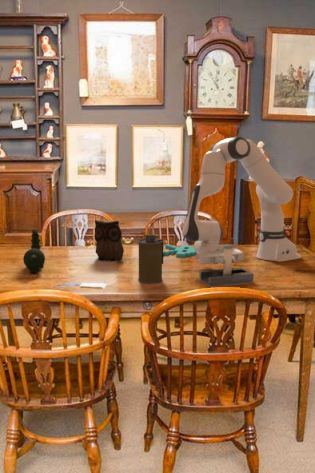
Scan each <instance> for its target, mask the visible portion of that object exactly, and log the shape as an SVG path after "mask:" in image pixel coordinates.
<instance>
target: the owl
mask: <svg viewBox="0 0 315 473" xmlns="http://www.w3.org/2000/svg"><path fill="white" fill-rule="evenodd" d="M119 223H120V221H119V220H105V219H104V220H97V219H94V224H95V227H94V240H95V243H96V245H95V254H96V255H97V260H98V261H100V262H110V263H111V262H123V258H124V252H125V249H124V245H123V242H122V238H123V236H122V235H123V234H122V229H121V228H120V227H121V226H120V224H119Z"/></svg>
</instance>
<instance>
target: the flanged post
mask: <svg viewBox="0 0 315 473" xmlns="http://www.w3.org/2000/svg"><path fill="white" fill-rule="evenodd" d="M222 245H223V247H224V259H225V264H222V265H223V268H222V269H223V275H222V276H225V274H231V273H232V266H233V263H232V248H234V245H233V244H228V243H227V244H222Z"/></svg>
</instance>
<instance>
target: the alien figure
mask: <svg viewBox="0 0 315 473" xmlns="http://www.w3.org/2000/svg"><path fill="white" fill-rule="evenodd" d="M164 247H165V249H168V250H163V257H164V256H170V255H169V254H172V255H174V254H175V257H176V258H185V257H195V255H197V253H196V252H195V250H194V245H189V244H182V245H181V246H180V247H178V246H174V245H173V244H172V245H171V244H170V243H169V244H168V243H166V244H165V246H164ZM171 249H172V250H171ZM172 255H171V256H172Z"/></svg>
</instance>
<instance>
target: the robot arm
mask: <svg viewBox="0 0 315 473" xmlns="http://www.w3.org/2000/svg"><path fill="white" fill-rule="evenodd" d="M235 161H239V162H240V163H241V165H242V167H243V169H244V170H245V171H246V173H247V174H248V176H249V177H250V179H251V180H252V182H254V183H255V184H256V187H255V193H256V196H257V197H258V202H259V207H260V229H259V242H258V249H257V253H256V258H257V259H259V260H260V259H261V260H264V261H274V262H279V263H281V262H287V261H292V260H293V261H294V260H297V259H302V256H301V254H299V253H298V252H297V251H298V250H297V246H296V244H294V243H293V241H291V240H290V239H288V237H287V236H290V235H291V232H290V231H288V230H284V223H285V221H284V220H285V215H284V212H283V210H282V206H281V205H285V204H288V203H290V202H291V200H292V199H293V196H294V190H293V187H291V186H290V185H289V184H288V183H287V182H286V181H285V180H284V179H283V178H282V177H281V175H280V174H279V173H278V172H277V171H276V170H275V168H273V166H272V165H271V163H270V162H269V160H268V159H267V158H266V156H265V155H264V153H263V152H262V149H260V148H259V147H258V145H257V144H256V143H255V142H254V141H253V140H251V139H249V138H248V139H246V138H244V137H242V136H233V137H228V138H224V139H222V140H220V141H216V142H215V143H214V144H212V146H211V147H210V149H209V151H207V152H206V153H205V154H204V156H203V159H202V162H201V169H200V178H199V181H198V183H197V184H195V185H194V186H193V188H192V190H191V195H190V199H189V203H188V206H187V207H188V208H187V212H186V216H185V219H184V222H183V225H182V229H181V230H182V232H181V233H182V236H183V237H184V238H185V240H186V241H188V242H194V243H193V244H194V245H193V247H194V250H195V252H196V253H197V255H195V256H194V258H195V259H197V261H198V262H199V263H200V265H210V264H211V265H218V264H221V265H223V264H225V259H224V247H223V245H224V244H221V243H222V241H223V236H224V230H223V227H222V225H221V224H220V222H218V221H217V220H216V221H215V220H205V219H204V220H203V219H198V214H199V209H200V206H201V202H202V200H203V199H204V198H206V197H209V196H213V195H215V194H217V193H219V192H220V191H221V190H222V189H223V188H224V187H225V186H224V185H225V180H226V166H227V164H228V163H233V162H235ZM244 256H245V255H244V252H243V251H242V250H240V249H237V248H234V247H233V248H232V264H235V263H236V262H242V261H243V260H244Z"/></svg>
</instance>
